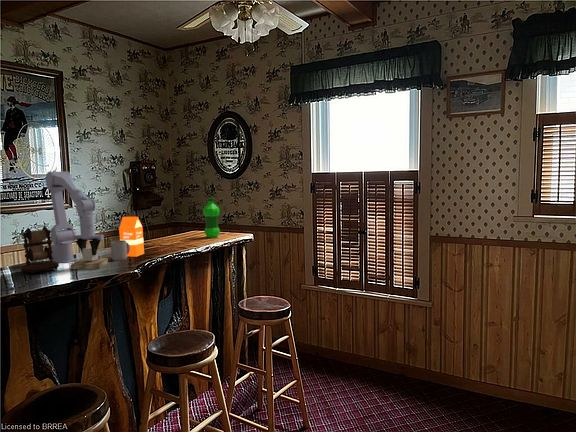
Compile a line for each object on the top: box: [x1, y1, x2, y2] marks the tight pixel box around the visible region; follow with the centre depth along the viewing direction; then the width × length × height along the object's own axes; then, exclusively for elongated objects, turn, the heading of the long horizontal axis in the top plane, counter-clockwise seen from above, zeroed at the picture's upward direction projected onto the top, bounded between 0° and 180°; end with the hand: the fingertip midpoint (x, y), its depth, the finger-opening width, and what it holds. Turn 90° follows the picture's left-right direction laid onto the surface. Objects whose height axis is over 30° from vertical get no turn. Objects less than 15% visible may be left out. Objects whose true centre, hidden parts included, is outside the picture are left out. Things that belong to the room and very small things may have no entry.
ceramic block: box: [82, 246, 99, 261], centre depth 198 cm, size 4×4×6 cm
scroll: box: [20, 225, 60, 274], centre depth 190 cm, size 15×15×20 cm
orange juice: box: [118, 216, 145, 257], centre depth 221 cm, size 8×9×20 cm
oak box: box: [70, 257, 109, 270], centre depth 198 cm, size 12×12×3 cm
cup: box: [110, 239, 130, 262], centre depth 213 cm, size 7×10×9 cm
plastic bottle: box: [202, 197, 221, 239], centre depth 270 cm, size 10×10×25 cm
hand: (89, 255), depth 197 cm, fingers closed on ceramic block, 4 cm apart
